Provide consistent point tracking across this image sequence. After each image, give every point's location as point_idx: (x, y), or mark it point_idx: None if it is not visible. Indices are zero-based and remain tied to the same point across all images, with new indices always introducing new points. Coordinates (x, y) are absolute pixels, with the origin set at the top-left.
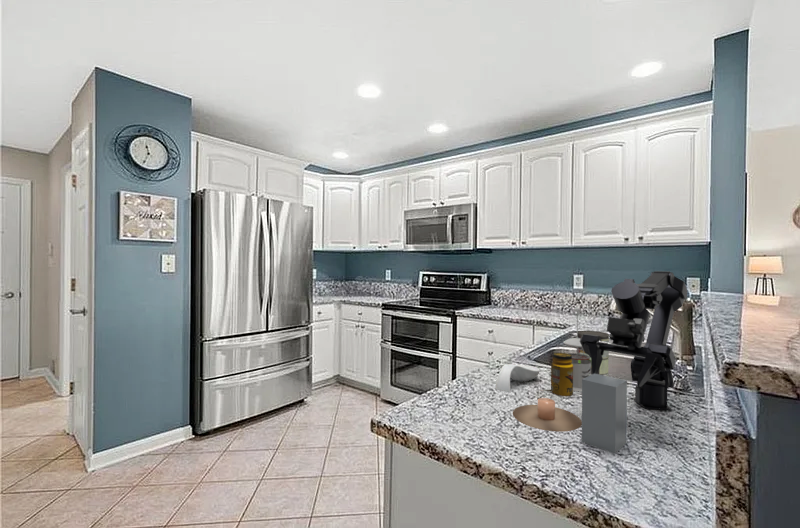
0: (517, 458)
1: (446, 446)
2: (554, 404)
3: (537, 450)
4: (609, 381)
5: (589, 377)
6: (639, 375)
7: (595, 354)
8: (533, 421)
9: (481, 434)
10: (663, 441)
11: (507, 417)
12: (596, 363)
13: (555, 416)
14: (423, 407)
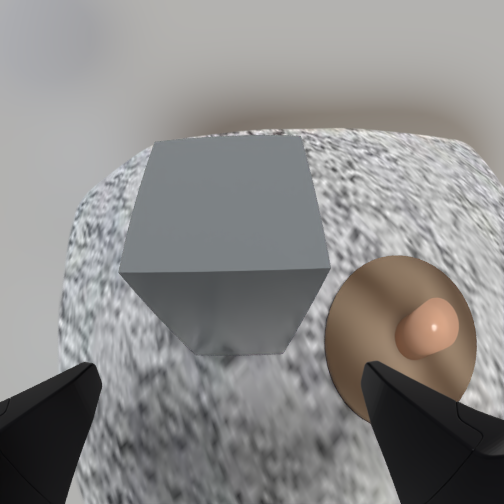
0: (316, 157)
1: (387, 133)
2: (417, 330)
3: (317, 193)
4: (194, 183)
5: (298, 174)
6: (60, 390)
7: (483, 443)
8: (409, 284)
9: (404, 180)
10: (137, 453)
11: (449, 271)
12: (414, 417)
13: (404, 363)
14: (499, 200)
